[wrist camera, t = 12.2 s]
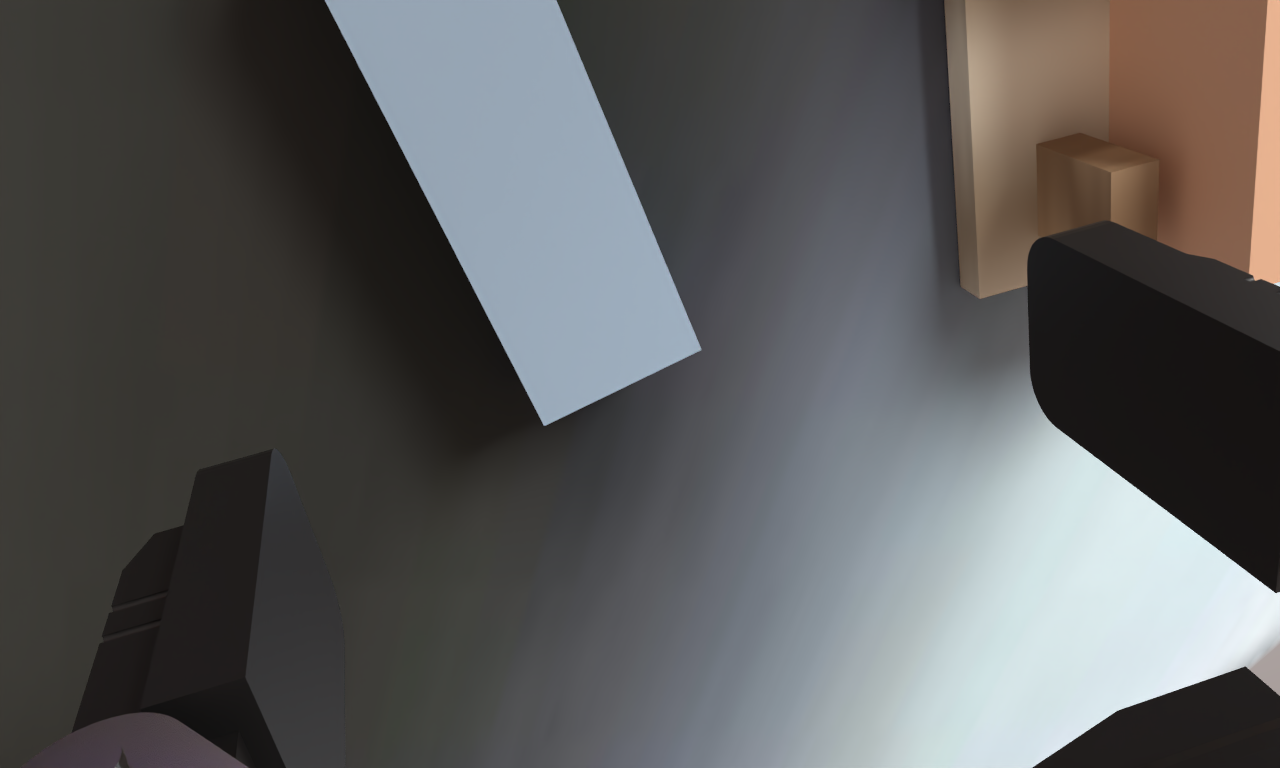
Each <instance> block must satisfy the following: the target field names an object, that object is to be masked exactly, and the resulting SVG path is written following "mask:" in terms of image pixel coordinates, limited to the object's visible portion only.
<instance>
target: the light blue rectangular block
mask: <svg viewBox="0 0 1280 768" xmlns="http://www.w3.org/2000/svg"><path fill="white" fill-rule="evenodd" d="M325 2H326V4H327V6H328V7H329V9H330V11H331V13H332V15H333V17H334V19H335V21H336V23H337V25H338V27H339V29H340V31H341V33H342V35H343V37H344V38H345V40H346V42H347V44H348V46H349V48H350V50H351V52H352V54H353V56H354V58H355V60H356V62H357V64H358V66H359V68H360V70H361V71H362V73H363V75H364V77H365V79H366V81H367V83H368V85H369V87H370V89H371V91H372V93H373V95H374V97H375V99H376V101H377V103H378V104H379V106H380V108H381V110H382V112H383V114H384V116H385V118H386V120H387V122H388V124H389V126H390V128H391V130H392V132H393V134H394V136H395V137H396V139H397V141H398V143H399V145H400V147H401V149H402V151H403V153H404V155H405V157H406V159H407V161H408V163H409V165H410V167H411V169H412V170H413V172H414V174H415V176H416V178H417V180H418V182H419V184H420V186H421V188H422V190H423V192H424V194H425V196H426V198H427V200H428V202H429V203H430V205H431V207H432V209H433V211H434V213H435V215H436V217H437V219H438V221H439V223H440V225H441V227H442V229H443V231H444V233H445V235H446V236H447V238H448V240H449V242H450V244H451V246H452V248H453V250H454V252H455V254H456V256H457V258H458V260H459V262H460V264H461V266H462V268H463V269H464V271H465V273H466V275H467V277H468V279H469V281H470V283H471V285H472V287H473V289H474V291H475V293H476V295H477V297H478V299H479V301H480V302H481V304H482V306H483V308H484V310H485V312H486V314H487V316H488V318H489V320H490V322H491V324H492V326H493V328H494V330H495V332H496V334H497V335H498V337H499V339H500V341H501V343H502V345H503V347H504V349H505V351H506V353H507V355H508V357H509V359H510V361H511V363H512V365H513V367H514V368H515V370H516V372H517V374H518V376H519V378H520V380H521V382H522V384H523V386H524V388H525V390H526V392H527V394H528V396H529V398H530V399H531V401H532V403H533V405H534V407H535V409H536V411H537V413H538V415H539V417H540V419H541V421H542V423H543V425H544V426H546V425H548V424H550V423H552V422H554V421H556V420H558V419H560V418H562V417H564V416H566V415H568V414H570V413H572V412H574V411H577V410H579V409H581V408H583V407H585V406H587V405H589V404H591V403H593V402H595V401H597V400H599V399H601V398H603V397H605V396H607V395H610V394H612V393H614V392H616V391H618V390H620V389H622V388H624V387H626V386H628V385H630V384H632V383H634V382H636V381H638V380H640V379H643V378H645V377H647V376H649V375H651V374H653V373H655V372H657V371H659V370H661V369H663V368H665V367H667V366H669V365H671V364H673V363H676V362H678V361H680V360H682V359H684V358H686V357H688V356H690V355H692V354H694V353H696V352H698V351H700V350H701V347H700V345H699V343H698V340H697V338H696V335H695V333H694V331H693V328H692V326H691V323H690V321H689V319H688V316H687V314H686V311H685V309H684V307H683V304H682V302H681V299H680V297H679V294H678V292H677V290H676V287H675V285H674V282H673V280H672V278H671V275H670V273H669V270H668V268H667V266H666V263H665V261H664V258H663V256H662V254H661V251H660V249H659V246H658V244H657V241H656V239H655V237H654V234H653V232H652V229H651V227H650V225H649V222H648V220H647V217H646V215H645V213H644V210H643V208H642V205H641V203H640V201H639V198H638V196H637V193H636V191H635V189H634V186H633V184H632V181H631V179H630V176H629V174H628V172H627V169H626V167H625V164H624V162H623V160H622V157H621V155H620V152H619V150H618V148H617V145H616V143H615V140H614V138H613V136H612V133H611V131H610V128H609V126H608V123H607V121H606V119H605V116H604V114H603V111H602V109H601V107H600V104H599V102H598V99H597V97H596V95H595V92H594V90H593V87H592V85H591V83H590V80H589V78H588V75H587V73H586V71H585V68H584V66H583V63H582V61H581V58H580V56H579V54H578V51H577V49H576V46H575V44H574V42H573V39H572V37H571V34H570V32H569V30H568V27H567V25H566V22H565V20H564V18H563V15H562V13H561V10H560V8H559V5H558V3H557V1H556V0H325Z"/></svg>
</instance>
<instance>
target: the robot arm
mask: <svg viewBox="0 0 1280 768" xmlns="http://www.w3.org/2000/svg"><path fill="white" fill-rule="evenodd" d="M1027 285H1028V317H1029V349H1030V374H1031V381H1032V386H1033V389H1034V393H1035V395H1036V398H1037V401H1038V403H1039V405H1040V407H1041V409H1042V411H1043V412H1044V414H1045V415H1046V417H1047V418H1048V419H1049V420H1050V422H1051V423H1052V424H1053V425H1054V426H1056V427H1057V428H1058V429H1059V430H1061V431H1062V432H1063V433H1065V434H1066V435H1067V436H1069V437H1070V438H1071V439H1073V440H1074V441H1075V442H1077V443H1078V444H1079V445H1080V446H1082V447H1083V448H1084V449H1086V450H1087V451H1088V452H1090V453H1091V454H1092V455H1094V456H1095V457H1096V458H1098V459H1099V460H1100V461H1102V462H1103V463H1104V464H1106V465H1107V466H1108V467H1110V468H1111V469H1112V470H1114V471H1115V472H1116V473H1118V474H1119V475H1120V476H1122V477H1123V478H1124V479H1125V480H1127V481H1128V482H1129V483H1131V484H1132V485H1133V486H1135V487H1136V488H1137V489H1139V490H1140V491H1141V492H1143V493H1144V494H1145V495H1147V496H1148V497H1149V498H1151V499H1152V500H1153V501H1155V502H1156V503H1157V504H1159V505H1160V506H1161V507H1163V508H1164V509H1165V510H1167V511H1168V512H1169V513H1170V514H1172V515H1173V516H1174V517H1176V518H1177V519H1178V520H1180V521H1181V522H1182V523H1184V524H1185V525H1186V526H1188V527H1189V528H1190V529H1192V530H1193V531H1194V532H1196V533H1197V534H1198V535H1200V536H1201V537H1202V538H1204V539H1205V540H1206V541H1208V542H1209V543H1210V544H1212V545H1213V546H1214V547H1216V548H1217V549H1218V550H1219V551H1221V552H1222V553H1223V554H1225V555H1226V556H1227V557H1229V558H1230V559H1231V560H1233V561H1234V562H1235V563H1237V564H1238V565H1239V566H1241V567H1242V568H1243V569H1245V570H1246V571H1247V572H1249V573H1250V574H1251V575H1253V576H1254V577H1255V578H1257V579H1258V580H1259V581H1261V582H1262V583H1263V584H1264V585H1266V586H1267V587H1268V588H1270V589H1271V590H1272V591H1274V592H1275V593H1278V592H1280V287H1279V286H1277V285H1274V284H1272V283H1270V282H1267V281H1265V280H1263V279H1259V280H1256V281H1255V280H1254V277H1253V275H1251V274H1249V273H1246V272H1244V271H1241V270H1239V269H1237V268H1234V267H1232V266H1230V265H1227V264H1225V263H1223V262H1220V261H1218V260H1216V259H1212V258H1207V257H1202V256H1196V255H1191V254H1186V253H1184V252H1181V251H1179V250H1177V249H1174V248H1172V247H1170V246H1168V245H1165V244H1163V243H1161V242H1158V241H1156V240H1154V239H1151V238H1149V237H1147V236H1145V235H1142V234H1140V233H1138V232H1135V231H1133V230H1131V229H1128V228H1126V227H1124V226H1122V225H1119V224H1117V223H1115V222H1112V221H1108V220H1103V221H1099V222H1096V223H1092V224H1088V225H1085V226H1081V227H1078V228H1074V229H1070V230H1067V231H1063V232H1059V233H1056V234H1052V235H1049V236H1045V237H1042V238H1039V239H1037V240H1036V241H1035V242H1034V243H1033V244H1032V246H1031V248H1030V251H1029V254H1028V260H1027ZM112 609H113V612H112V613H109V616H108V619H107V622H106V625H105V628H104V631H103V635H102V637H103V640H104V642H103V643H100V644H99V647H98V651H97V654H96V657H95V660H94V663H93V666H92V670H91V673H90V676H89V679H88V682H87V686H86V689H85V692H84V695H83V698H82V701H81V705H80V708H79V711H78V714H77V717H76V721H75V724H74V727H73V730H72V733H71V734H69V735H67V736H65V737H63V738H62V739H60V740H58V741H56V742H55V743H53V744H52V745H50V746H49V747H47V748H45V749H44V750H42V751H41V752H40V753H38V754H37V755H36V756H34V757H33V758H32V759H30V760H29V761H28V762H26V763H25V764H24V765H23V766H22V767H21V768H345V655H344V630H343V624H342V618H341V613H340V608H339V604H338V600H337V597H336V593H335V590H334V586H333V583H332V580H331V578H330V575H329V572H328V570H327V567H326V564H325V562H324V559H323V557H322V554H321V551H320V549H319V546H318V544H317V541H316V538H315V536H314V533H313V530H312V528H311V525H310V523H309V520H308V517H307V515H306V512H305V510H304V507H303V504H302V502H301V499H300V497H299V494H298V491H297V489H296V486H295V484H294V481H293V478H292V476H291V473H290V471H289V468H288V466H287V464H286V462H285V460H284V458H283V456H282V455H281V453H280V452H279V451H278V450H277V449H272V450H268V451H265V452H261V453H257V454H254V455H250V456H247V457H243V458H239V459H236V460H232V461H229V462H225V463H221V464H218V465H214V466H211V467H207V468H203V469H200V470H198V472H197V474H196V477H195V482H194V486H193V490H192V494H191V498H190V502H189V507H188V511H187V515H186V519H185V523H184V526H180V527H177V528H173V529H170V530H166V531H163V532H159V533H156V534H154V535H153V536H152V537H151V539H150V540H149V541H148V542H147V543H146V544H145V545H144V547H143V548H142V549H141V550H140V551H139V552H138V553H137V555H136V556H135V557H134V558H133V559H132V560H131V562H130V563H129V564H128V565H127V566H126V567H125V568H124V570H123V571H122V574H121V577H120V581H119V584H118V587H117V590H116V593H115V596H114V600H113V603H112ZM1033 768H1280V696H1279V695H1278V694H1277V693H1276V692H1274V691H1273V690H1272V689H1271V688H1270V687H1269V686H1267V685H1266V684H1265V683H1264V682H1263V681H1262V680H1261V679H1259V678H1258V677H1257V676H1256V675H1255V674H1253V673H1252V672H1251V671H1250V670H1249V669H1248V668H1247V667H1243V668H1240V669H1237V670H1234V671H1231V672H1228V673H1225V674H1223V675H1220V676H1217V677H1214V678H1211V679H1208V680H1205V681H1202V682H1199V683H1197V684H1194V685H1191V686H1188V687H1185V688H1182V689H1179V690H1176V691H1173V692H1171V693H1168V694H1165V695H1162V696H1159V697H1156V698H1153V699H1150V700H1148V701H1145V702H1142V703H1139V704H1136V705H1133V706H1130V707H1127V708H1124V709H1122V710H1119V711H1117V712H1115V713H1114V714H1112V715H1111V716H1109V717H1108V718H1106V719H1105V720H1103V721H1102V722H1100V723H1099V724H1097V725H1096V726H1094V727H1093V728H1091V729H1090V730H1088V731H1087V732H1085V733H1084V734H1082V735H1081V736H1079V737H1078V738H1076V739H1075V740H1073V741H1072V742H1070V743H1069V744H1067V745H1066V746H1064V747H1063V748H1061V749H1060V750H1058V751H1057V752H1055V753H1054V754H1052V755H1051V756H1049V757H1048V758H1046V759H1045V760H1043V761H1042V762H1040V763H1039V764H1037V765H1036V766H1034V767H1033Z"/></svg>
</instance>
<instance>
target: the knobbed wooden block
mask: <svg viewBox="0 0 1280 768" xmlns="http://www.w3.org/2000/svg"><path fill="white" fill-rule="evenodd" d="M1109 143H1112V144H1115V145H1118V146H1121V147H1124V148H1127V149H1130V150H1132V151H1135V152H1138V153H1141V154H1144V155H1147V156H1150V157H1153V158H1156V159H1159V191H1158V226H1157V241H1158V242H1161V243H1163V244H1165V245H1168V246H1170V247H1172V248H1174V249H1177V250H1179V251H1181V252H1184V253H1186V254H1191V255H1196V256H1202V257H1207V258H1212V259H1216V260H1218V261H1220V262H1223V263H1225V264H1227V265H1230V266H1232V267H1234V268H1237V269H1239V270H1241V271H1244V272H1246V273H1249V274H1251V275H1253V277H1254V280H1255V281H1256V280H1259V279H1263V280H1265V281H1267V282H1270V283H1272V284H1274V283H1277V282H1280V0H1110V48H1109Z"/></svg>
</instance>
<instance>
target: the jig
mask: <svg viewBox="0 0 1280 768" xmlns="http://www.w3.org/2000/svg"><path fill="white" fill-rule="evenodd" d="M944 5H945V22H946V40H947V57H948V75H949V92H950V110H951V127H952V145H953V162H954V180H955V198H956V215H957V233H958V250H959V268H960V285H961V287H962V288H963V289H965V290H967V291H968V292H970V293H971V294H973V295H974V296H976V297H977V298H979V299H982V298H986V297H989V296H993V295H996V294H1000V293H1003V292H1007V291H1010V290H1014V289H1018V288H1021V287H1025V286H1028V285H1027V260H1028V254H1029V251H1030V248H1031V246H1032V244H1033V243H1034V242H1035V241H1036V240H1037V239H1039V238H1042V237H1045V236H1049V235H1052V234H1056V233H1059V232H1063V231H1067V230H1070V229H1074V228H1078V227H1081V226H1085V225H1088V224H1092V223H1096V222H1099V221H1103V220H1108V221H1112V222H1115V223H1117V224H1119V225H1122V226H1124V227H1126V228H1128V229H1131V230H1133V231H1135V232H1138V233H1140V234H1142V235H1145V236H1147V237H1149V238H1151V239H1154V240H1156V241H1157V226H1158V191H1159V159H1156V158H1153V157H1150V156H1147V155H1144V154H1141V153H1138V152H1135V151H1132V150H1130V149H1127V148H1124V147H1121V146H1118V145H1115V144H1112V143H1109V48H1110V0H944Z"/></svg>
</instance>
